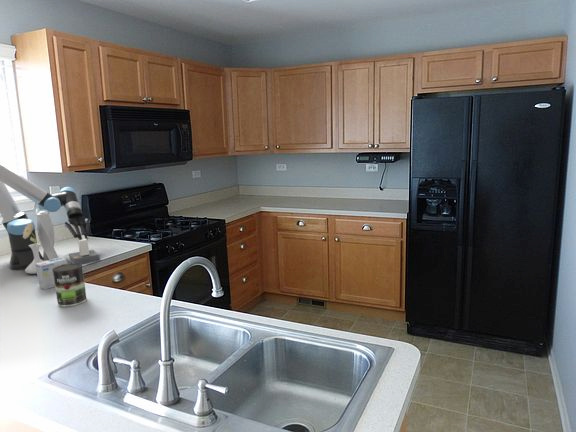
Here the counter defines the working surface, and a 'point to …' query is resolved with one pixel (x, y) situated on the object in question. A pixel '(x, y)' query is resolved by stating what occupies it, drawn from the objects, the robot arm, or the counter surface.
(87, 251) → the white cylinder
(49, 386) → the counter surface
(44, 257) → the skyscraper
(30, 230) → the flower in vase
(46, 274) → the light bulb box
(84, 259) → the switch box
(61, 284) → the coffee can
